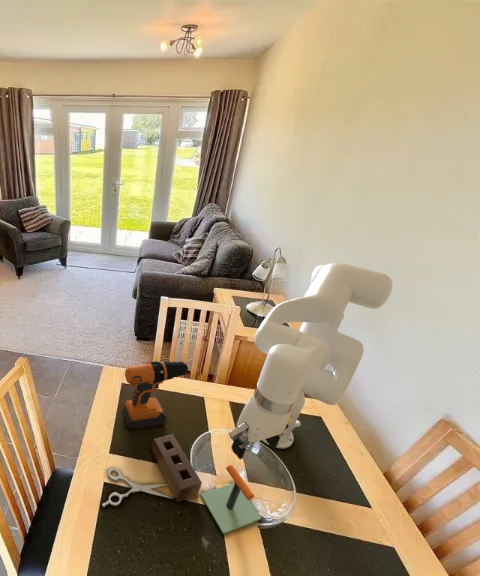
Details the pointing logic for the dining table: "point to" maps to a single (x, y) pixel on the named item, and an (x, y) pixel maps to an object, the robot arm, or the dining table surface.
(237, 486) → the t handle
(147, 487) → the scissors
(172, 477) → the rack
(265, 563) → the dining table surface
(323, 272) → the robot arm
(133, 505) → the dining table surface
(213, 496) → the mat
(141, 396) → the power drill
